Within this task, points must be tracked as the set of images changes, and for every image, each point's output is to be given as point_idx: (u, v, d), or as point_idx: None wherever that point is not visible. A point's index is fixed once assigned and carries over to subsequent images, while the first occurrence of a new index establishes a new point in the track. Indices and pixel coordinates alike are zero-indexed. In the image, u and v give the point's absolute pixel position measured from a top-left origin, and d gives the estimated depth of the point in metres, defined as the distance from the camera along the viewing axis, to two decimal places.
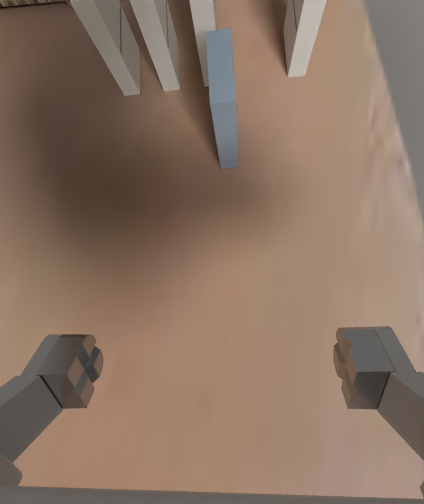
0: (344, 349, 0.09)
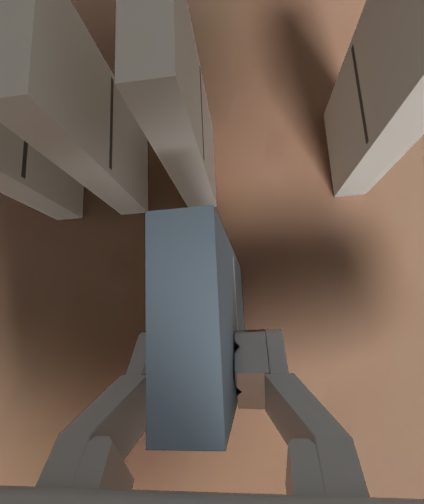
0: (236, 351, 0.10)
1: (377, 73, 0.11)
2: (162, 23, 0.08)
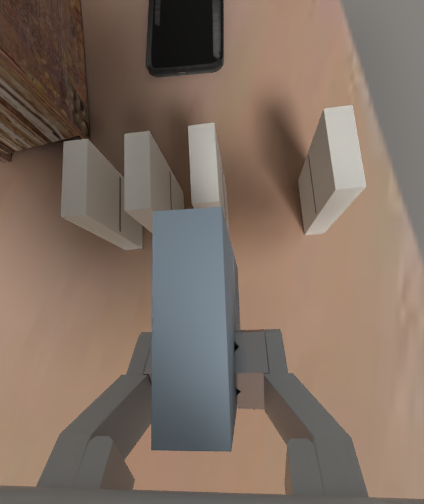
0: (235, 351, 0.10)
1: (317, 180, 0.21)
2: (212, 175, 0.18)
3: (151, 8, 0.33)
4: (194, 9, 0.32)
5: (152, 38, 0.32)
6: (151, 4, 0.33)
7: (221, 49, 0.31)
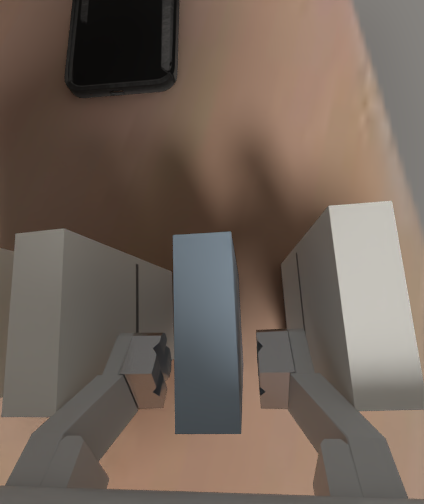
0: (258, 350, 0.09)
1: (312, 318, 0.11)
2: (48, 351, 0.08)
3: None
4: None
5: (76, 41, 0.22)
6: None
7: (172, 58, 0.21)
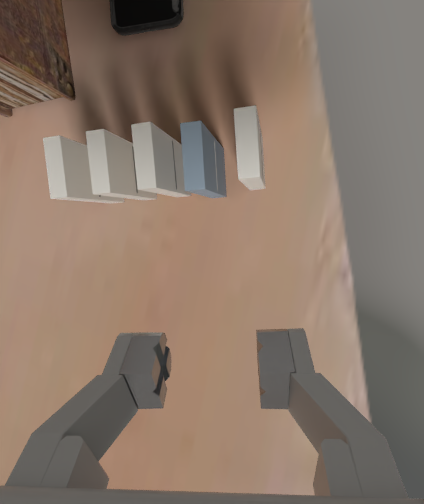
0: (258, 350, 0.09)
1: None
2: (150, 166, 0.24)
3: None
4: None
5: None
6: None
7: (179, 1, 0.31)
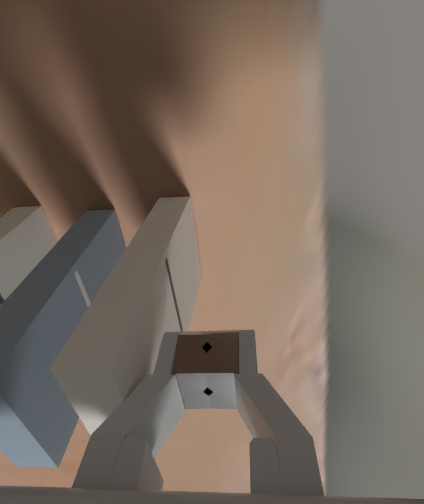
0: None
1: None
2: None
3: None
4: None
5: None
6: None
7: None
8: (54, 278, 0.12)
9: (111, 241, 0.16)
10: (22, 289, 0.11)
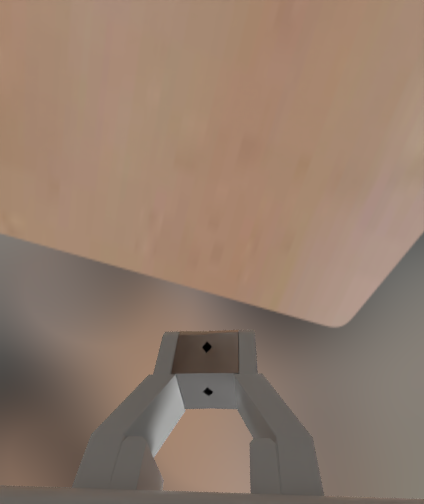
0: None
1: None
2: None
3: None
4: None
5: None
6: None
7: None
8: None
9: None
10: None
